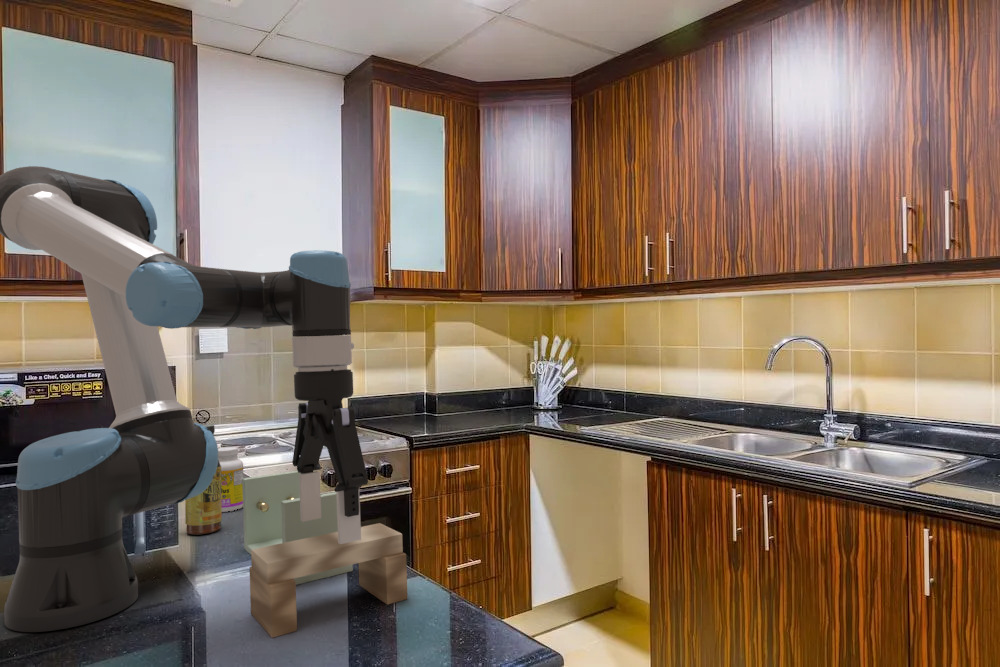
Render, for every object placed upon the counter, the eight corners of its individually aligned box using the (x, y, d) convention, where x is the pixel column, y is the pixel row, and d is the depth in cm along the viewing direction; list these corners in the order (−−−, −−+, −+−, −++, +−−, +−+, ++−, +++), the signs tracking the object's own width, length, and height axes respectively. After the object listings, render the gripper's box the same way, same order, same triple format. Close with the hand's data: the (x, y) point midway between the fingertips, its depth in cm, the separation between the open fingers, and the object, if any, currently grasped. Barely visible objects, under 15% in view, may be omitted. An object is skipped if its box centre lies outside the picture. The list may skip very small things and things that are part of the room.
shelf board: (267, 584, 79) (267, 563, 79) (251, 569, 85) (251, 549, 85) (402, 552, 90) (402, 533, 90) (380, 540, 95) (379, 523, 95)
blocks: (271, 637, 78) (270, 587, 78) (250, 613, 86) (249, 567, 86) (407, 598, 89) (406, 554, 89) (378, 580, 96) (377, 538, 96)
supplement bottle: (203, 512, 139) (201, 450, 139) (226, 504, 145) (224, 445, 145) (229, 513, 137) (227, 451, 137) (251, 505, 143) (249, 446, 143)
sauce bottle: (208, 536, 121) (205, 428, 121) (178, 535, 122) (175, 428, 122) (229, 526, 127) (226, 423, 127) (201, 525, 128) (198, 423, 129)
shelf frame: (352, 570, 100) (350, 491, 101) (286, 587, 95) (284, 503, 95) (302, 537, 119) (300, 470, 119) (244, 548, 113) (242, 478, 113)
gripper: (391, 368, 80) (398, 545, 79) (317, 366, 100) (322, 507, 100) (331, 372, 75) (338, 559, 75) (266, 369, 95) (271, 516, 95)
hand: (329, 530), depth 87 cm, fingers open, 13 cm apart
